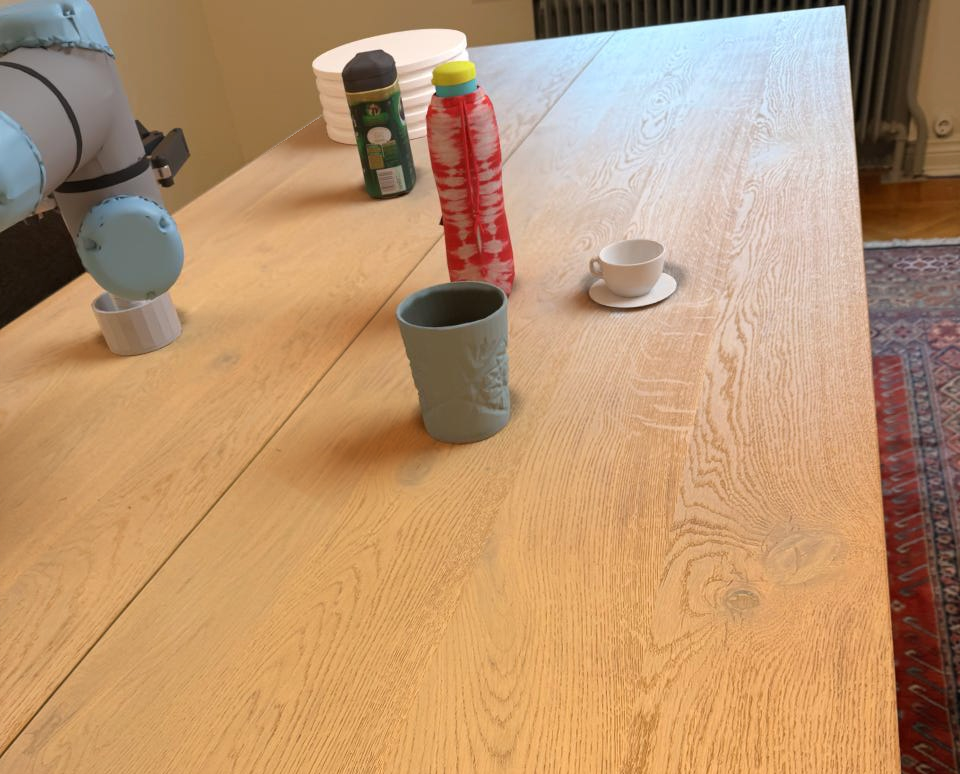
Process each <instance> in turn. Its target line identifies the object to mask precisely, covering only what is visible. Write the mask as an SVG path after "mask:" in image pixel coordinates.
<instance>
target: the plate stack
mask: <svg viewBox="0 0 960 774" xmlns="http://www.w3.org/2000/svg"><path fill="white" fill-rule="evenodd" d="M467 42H468V41H467V36H466V34H465V33H464V32H462V31H459V30H456V29H452V28H451V29H450V28H422V29H411V30H403V31H396V32H390V33H385V34H380V35H375V36H370V37H366V38H363V39H358V40H355V41H351V42H348V43H345V44H343V45H340V46H337V47H334V48H332V49H330V50H328V51H325V52H324V53H322V54H320V55H319V56H317V57H316V58H314V60H313V61H312V62H311V66H312V71H313V75H314V76H316V78H315V84H316V89H317V91H318V92H319V96H318V97H319V102H320V105H321V107H322V108H323V109H322V115H323V119H324V122H325V123H326V126H325V127H326V133H327V136H328V138H329V139H331V140H332V141H334V142H336V143H340V144H346V145H353V146H357V142H356V138H355V133H354V129H353V124H352V120H351V115H350V111H349V107H348V102H347V98H346V94H345V89H344V84H343V78H342V71H343V69H344V67H345V65H346V64H347V63H348V62H349V61H350V60H351V59H353V58H354V57H355V56H356V54H357V53H360V52H366V51H372V50H379V49H382V50H383V51H384V52H386V53H388V54H390V55H391V56H392V57H393V58H394V61H395V62H396V63H395V65H396V70H397V75H398V81H399V86H400V92H401V97H402V103H403V108H404V114H405V119H406V124H407V130H408V136H409V141H410V140H414V139H419V138H423V137H427V126H426V114H427V110H428V106H429V105H430V104H431V98H432V95H433V94H434V93H435V92H436V90H435V85H432V83H431V79H432V78H433V75H432V72H433V70H434V69H435V67H437V66H439V65H442V64H444V63H447V62H451V61H459V60H460V61H470V59H469V52H468V51H467V49H466V48H467V46H468V43H467Z"/></svg>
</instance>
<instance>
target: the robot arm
mask: <svg viewBox="0 0 960 774" xmlns="http://www.w3.org/2000/svg"><path fill="white" fill-rule="evenodd" d="M115 60H116V56H115V53H114V52H113V49H111V48H110V46H109V43H108V41H107V39H106V36H105V33H104V31H103V28H102V26H101V24H100V22H99V18H98V16H97V14H96V11H95V9H94V7H93V6H92V5H91V4H90V2H89V1H88V0H25V1H21V2H17V3H13V4H10V5H6V6H4V7H1V8H0V233H2V232H3V231H6V230H7V229H8V228H10V227H13V226H14V225H16V224H17V223H20V222H21V221H22V222H24V223H25V225H26V226H28V227H31V226H32V227H35V226H37V225H39V224H40V223H41V219H43V218H44V215H43V213H45V212H47V211H50V210H53V212H55V213H57V214H60V216H61V217H62V219H63V221H64V223H65V225H66V228H67V231H68V233H69V234H70V236H71V238H72V241H73V243H74V245H75V248H76V252H77V255H78V256H79V257H78V258H79V260H80V261H81V265H82V266H83V268H84V271H85V272H86V273H87V274H89V275H90V277H91V278H92V279H93V280H94V282H95V283H97V285H98V286H100V287H101V289H103V290H104V291H107V292H109V293H111V294H113V295H115V296H117V297H119V298H122V299H126V300H131V301H144V300H149V299H154V298H155V297H158V296H160V295H162V294H164V293H165V292H167V291H169V290H170V289H171V288H172V287H174V285H175V284H176V283H177V281H178V279H179V277H180V276H181V273H182V270H183V267H184V262H185V249H184V243H183V240H182V237H181V233H179V229H178V224H177V222H176V221H175V218H173V217H172V216H171V215H169V212H168V211H167V210H168V209H166V204H165V202H164V199H163V197H162V194H161V191H160V188H159V185H161V188H167V189H168V188H171V187H172V186H174V185H175V180H174V178H175V177H176V176H177V174H178V173H179V171H180V170H181V169H182V168H183V166H184V165H185V163H186V162H187V161H188V160H189V158H190V157H191V153H190V150H189V147H188V144H187V141H186V137H185V134H184V131H183V128H182V127H174V128H172V129H171V130H169V132H168V133H167V134H166V135H165V134H164V132H163V131H159V130H152V131H151V130H150V131H149V130H148V129H147V128H146V127H145V126H144V124H143V123H142V122H141V121H140V120H139V119H135V117H134V115H133V111H132V109H131V105H130V103H129V99H128V96H127V93H126V90H125V88H124V85H123V82H122V79H121V76H120V73H119V70H118V66H117V64H116V61H115Z"/></svg>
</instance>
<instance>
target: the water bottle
mask: <svg viewBox="0 0 960 774" xmlns="http://www.w3.org/2000/svg"><path fill="white" fill-rule="evenodd" d="M432 75H433V78H432V79H431V83H432V85H435V90H436V92H435V93H434V94H433V95H432V98H431V104H430V105H429V106H428V110H427V114H426V126H427V136H426V140H427V147H428V152H429V153H428V154H429V159H430V166H431V171H432V174H433V178H434V183H435V186H436V190H437V194H438V198H439V205H440V211H441V217H440V220H439V223H438V225H439V226H442V227H443V236H444V246H445V255H446V266H447V270H448V276H449V282H460V281H476V282H485V283H489V284H492V285H495V286H497V287H499V288H500V289H502V290H503V291H504V292H505V294H506V296H507V300H508V299H509V297H510V294H511V293H512V290H513V286H514V281H515V276H516V270H515V259H514V251H513V246H512V245H513V244H512V240H511V234H510V230H509V223H508V217H507V214H506V213H507V212H506V206H505V198H504V190H503V165H502V148H501V141H500V133H499V125H498V120H497V118H496V117H497V116H496V113H495V108H494V105H493V102H492V101H491V99H490V97H489V95H488V94H486V93H485V91H484V89H483V86H480V85H479V84H477V72H476V65H475V63H474V62H472V61H470V60H469V61H460V60H459V61H451V62H447V63H444V64H442V65H439V66H437V67H435V69H434V70H433V72H432Z"/></svg>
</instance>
